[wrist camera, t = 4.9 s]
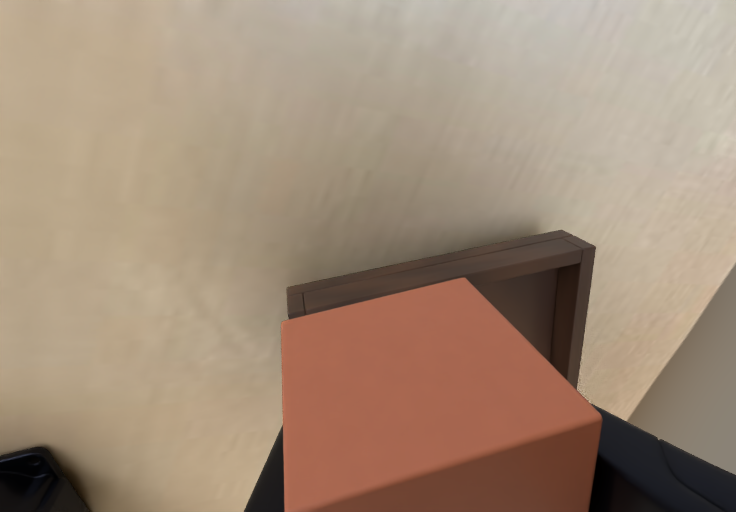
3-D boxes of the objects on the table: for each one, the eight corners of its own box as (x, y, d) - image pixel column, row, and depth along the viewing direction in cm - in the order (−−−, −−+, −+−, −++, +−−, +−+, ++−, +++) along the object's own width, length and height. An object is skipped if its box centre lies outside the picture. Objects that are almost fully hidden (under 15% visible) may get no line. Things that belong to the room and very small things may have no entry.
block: (319, 454, 11) (345, 675, 7) (280, 320, 9) (283, 516, 5) (471, 410, 11) (579, 589, 7) (464, 275, 9) (605, 415, 5)
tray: (345, 523, 27) (386, 780, 17) (285, 273, 19) (296, 486, 9) (526, 468, 29) (658, 669, 19) (544, 220, 21) (795, 344, 11)
